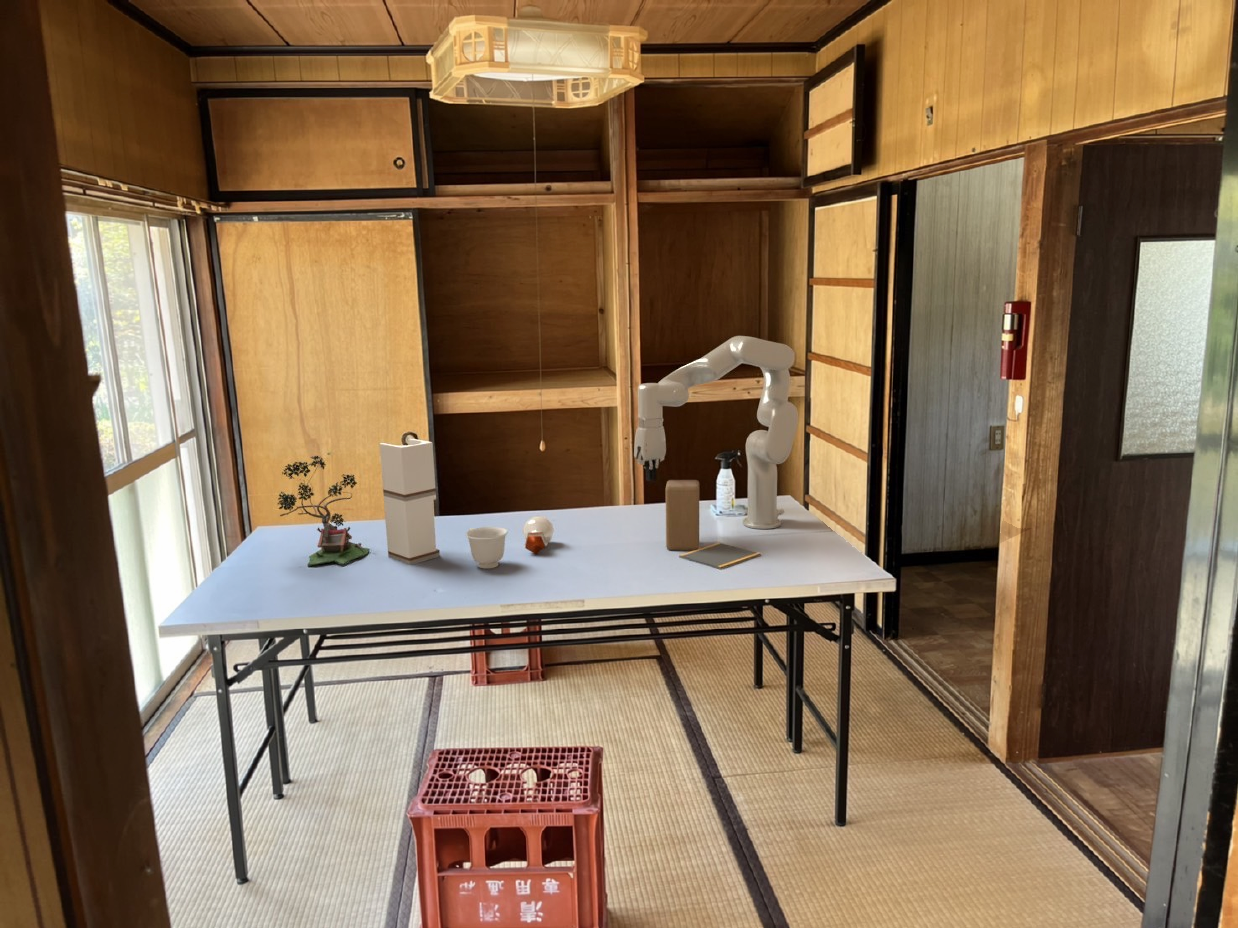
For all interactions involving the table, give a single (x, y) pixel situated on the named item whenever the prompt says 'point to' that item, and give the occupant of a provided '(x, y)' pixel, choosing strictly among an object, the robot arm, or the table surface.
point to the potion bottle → (537, 533)
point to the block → (682, 515)
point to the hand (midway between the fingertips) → (651, 480)
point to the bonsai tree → (325, 520)
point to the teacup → (487, 545)
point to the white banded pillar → (409, 500)
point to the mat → (719, 555)
